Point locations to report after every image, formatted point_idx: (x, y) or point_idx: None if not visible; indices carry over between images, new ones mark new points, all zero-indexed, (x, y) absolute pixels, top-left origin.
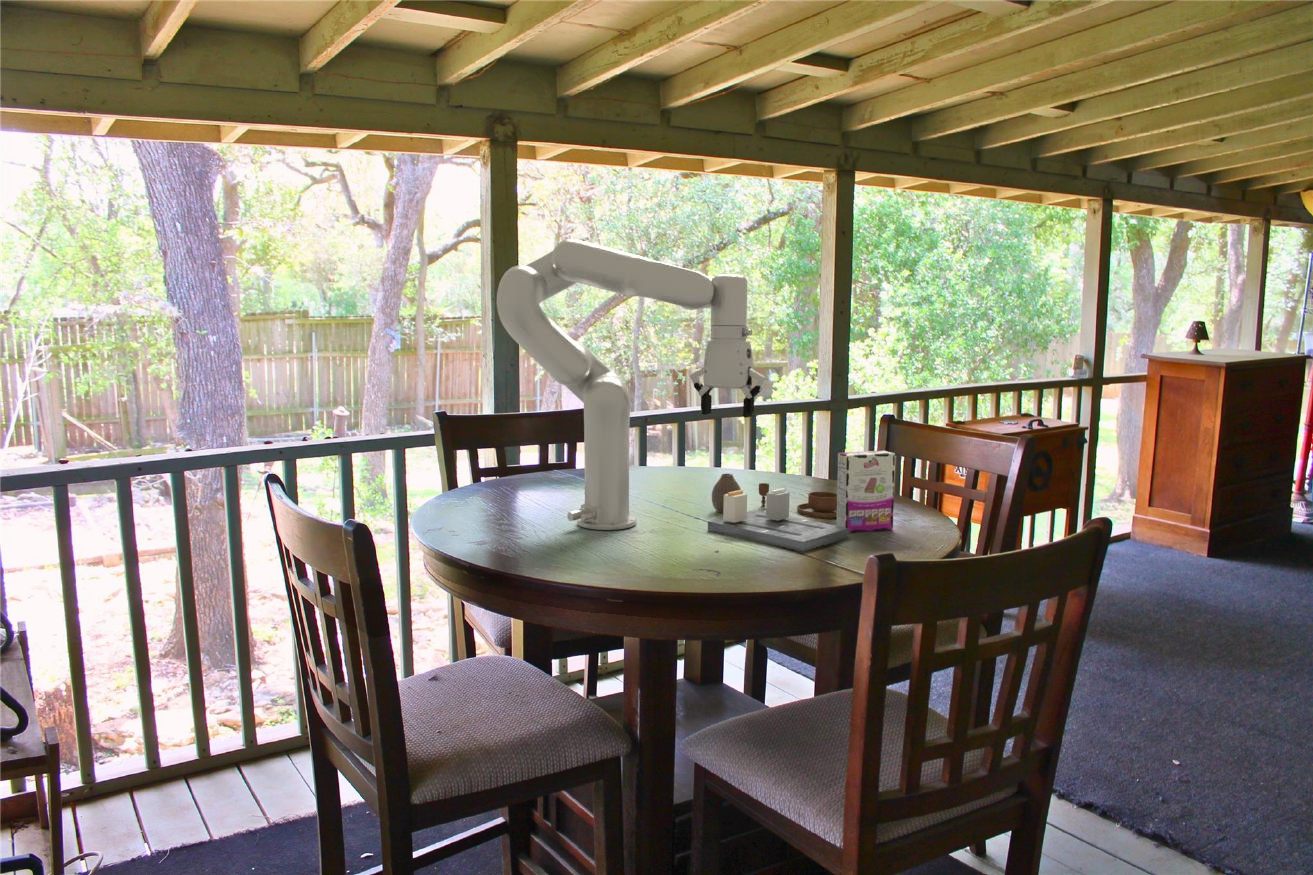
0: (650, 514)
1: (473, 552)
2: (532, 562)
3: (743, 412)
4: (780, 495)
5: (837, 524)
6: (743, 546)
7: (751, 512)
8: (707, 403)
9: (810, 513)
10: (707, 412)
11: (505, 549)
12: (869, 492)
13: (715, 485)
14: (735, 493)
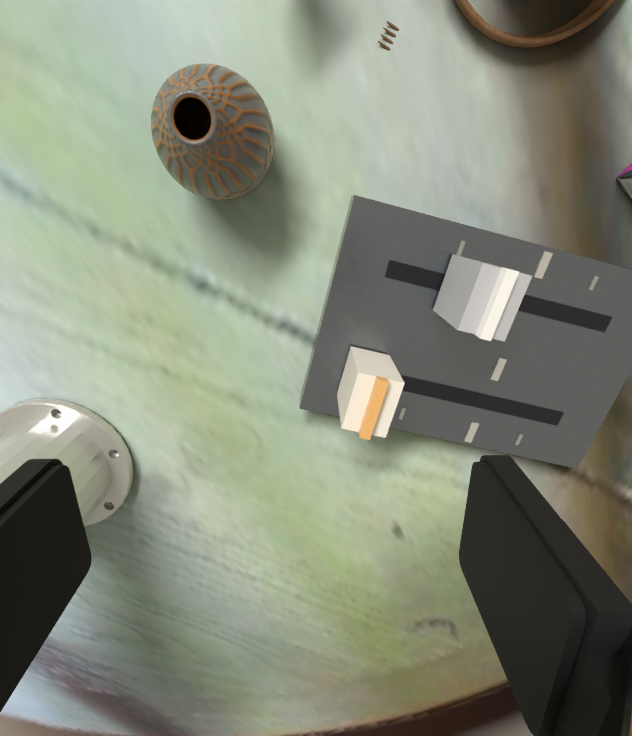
0: (64, 313)
1: (49, 703)
2: (167, 700)
3: (473, 592)
4: (508, 328)
5: (627, 184)
6: (432, 476)
7: (358, 239)
8: (23, 617)
9: (514, 44)
10: (79, 537)
11: (72, 674)
12: None
13: (170, 165)
14: (376, 416)
